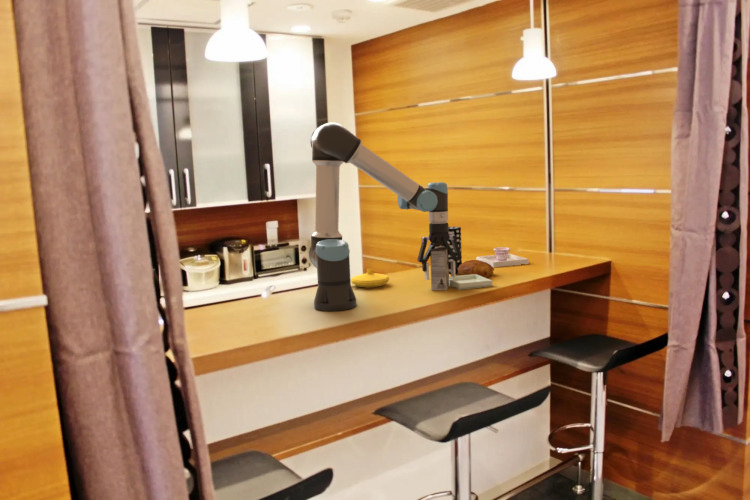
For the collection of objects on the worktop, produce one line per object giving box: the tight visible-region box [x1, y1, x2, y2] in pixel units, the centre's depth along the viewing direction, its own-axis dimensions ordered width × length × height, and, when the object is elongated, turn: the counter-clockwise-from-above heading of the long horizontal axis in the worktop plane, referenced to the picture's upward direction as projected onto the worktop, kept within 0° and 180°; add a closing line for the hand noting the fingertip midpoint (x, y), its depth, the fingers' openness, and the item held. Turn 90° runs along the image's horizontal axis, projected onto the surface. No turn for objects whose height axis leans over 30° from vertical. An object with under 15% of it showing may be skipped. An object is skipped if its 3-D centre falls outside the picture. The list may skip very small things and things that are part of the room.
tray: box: [449, 274, 493, 291], centre depth 248 cm, size 14×15×2 cm
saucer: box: [475, 253, 530, 268], centre depth 294 cm, size 18×18×2 cm
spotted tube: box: [447, 226, 463, 275], centre depth 274 cm, size 8×8×20 cm
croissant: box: [458, 259, 495, 279], centre depth 266 cm, size 14×16×8 cm
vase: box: [350, 268, 390, 288], centre depth 254 cm, size 16×16×7 cm
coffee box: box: [429, 246, 450, 291], centre depth 244 cm, size 9×6×16 cm
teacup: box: [490, 246, 514, 262], centre depth 294 cm, size 12×12×6 cm
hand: (440, 278), depth 244 cm, fingers open, 10 cm apart
